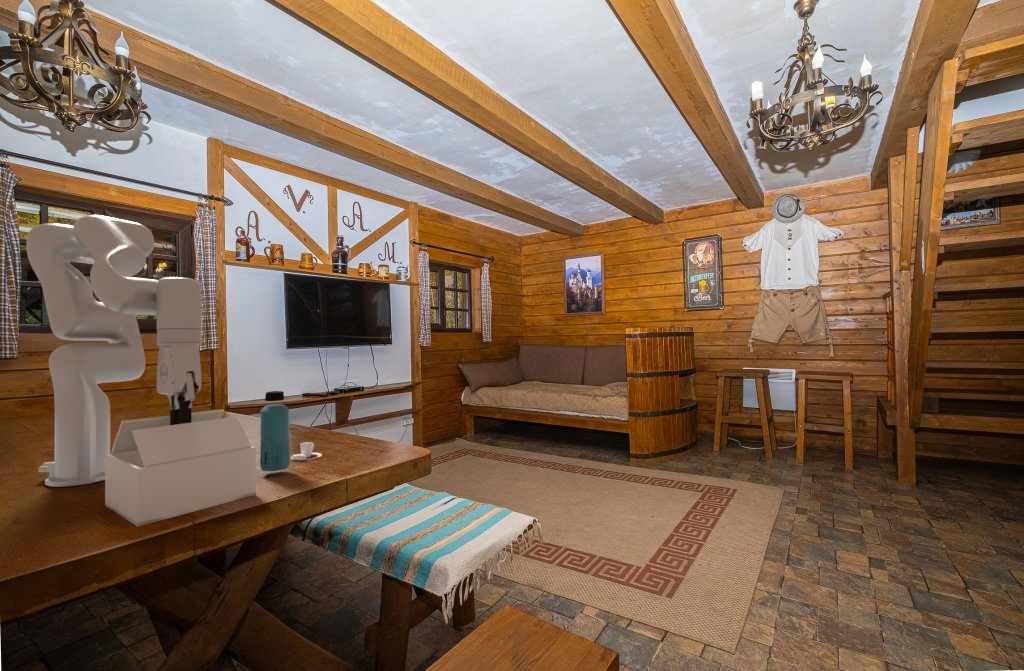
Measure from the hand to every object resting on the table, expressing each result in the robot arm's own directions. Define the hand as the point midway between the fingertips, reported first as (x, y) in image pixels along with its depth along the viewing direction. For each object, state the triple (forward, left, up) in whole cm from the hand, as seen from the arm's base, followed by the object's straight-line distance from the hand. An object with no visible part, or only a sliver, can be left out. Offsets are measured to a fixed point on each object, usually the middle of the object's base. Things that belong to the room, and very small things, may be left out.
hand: (181, 428), depth 95 cm
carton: (+1, -1, -14) cm, 15 cm away
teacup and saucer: (+10, +32, -15) cm, 37 cm away
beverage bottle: (+12, +16, -15) cm, 25 cm away
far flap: (-4, +3, -1) cm, 5 cm away
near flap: (+5, -4, -2) cm, 7 cm away
